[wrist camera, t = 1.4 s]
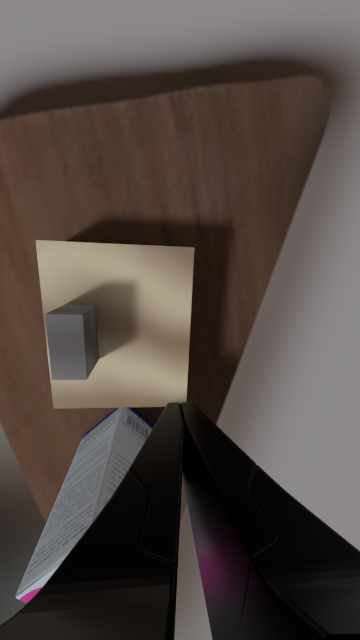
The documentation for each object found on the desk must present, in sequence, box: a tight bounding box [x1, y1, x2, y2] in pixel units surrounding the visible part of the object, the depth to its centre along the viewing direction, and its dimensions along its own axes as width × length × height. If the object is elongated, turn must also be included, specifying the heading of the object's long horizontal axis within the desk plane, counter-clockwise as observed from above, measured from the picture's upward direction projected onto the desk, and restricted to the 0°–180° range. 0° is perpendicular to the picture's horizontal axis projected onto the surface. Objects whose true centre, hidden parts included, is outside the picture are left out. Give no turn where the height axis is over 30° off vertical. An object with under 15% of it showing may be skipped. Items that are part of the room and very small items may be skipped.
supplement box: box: [16, 407, 153, 603], centre depth 18 cm, size 6×6×12 cm
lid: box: [36, 240, 194, 409], centre depth 16 cm, size 12×10×4 cm
